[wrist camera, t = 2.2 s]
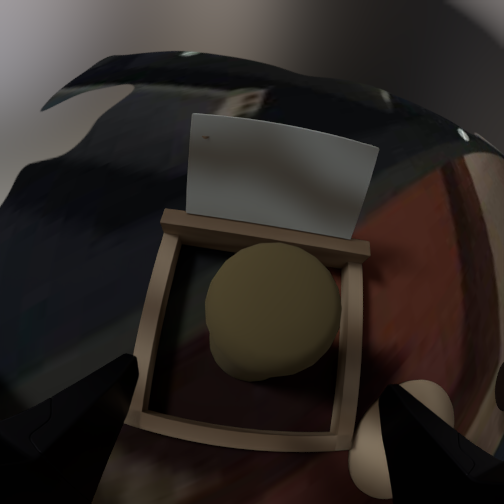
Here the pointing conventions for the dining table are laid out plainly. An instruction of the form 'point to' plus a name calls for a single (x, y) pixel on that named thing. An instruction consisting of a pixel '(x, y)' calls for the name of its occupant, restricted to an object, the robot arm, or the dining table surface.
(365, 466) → the disc
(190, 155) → the cold frame
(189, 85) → the dining table surface
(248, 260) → the pepper shaker
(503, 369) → the coffee mug
